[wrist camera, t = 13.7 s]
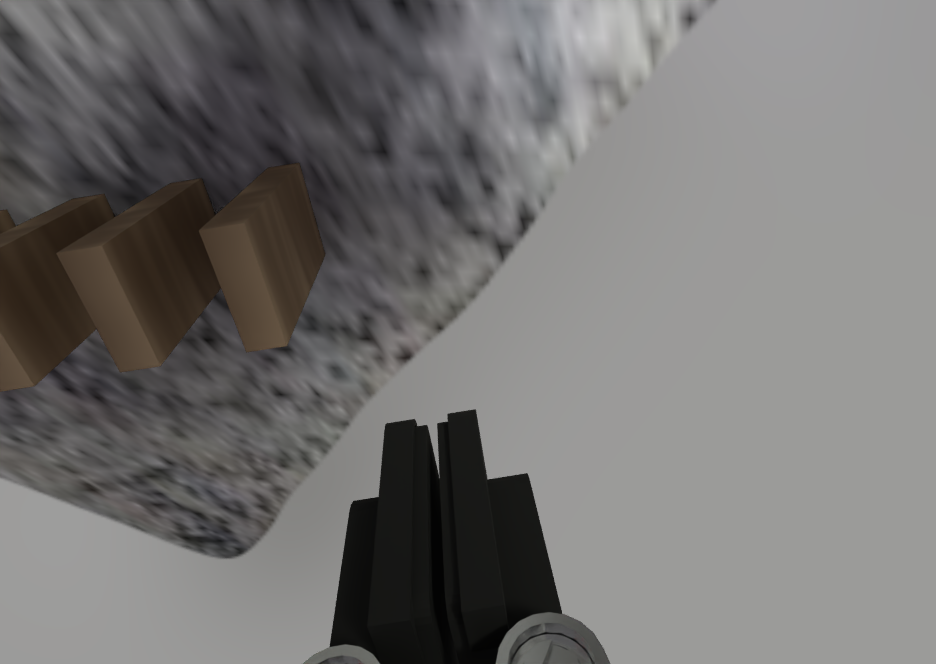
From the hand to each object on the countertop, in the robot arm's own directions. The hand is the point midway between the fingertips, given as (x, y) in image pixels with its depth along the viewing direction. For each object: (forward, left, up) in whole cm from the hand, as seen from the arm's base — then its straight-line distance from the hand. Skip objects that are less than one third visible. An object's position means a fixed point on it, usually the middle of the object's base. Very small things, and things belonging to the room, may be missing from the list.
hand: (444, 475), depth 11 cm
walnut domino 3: (+7, +1, -21) cm, 22 cm away
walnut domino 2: (+12, +1, -21) cm, 24 cm away
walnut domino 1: (+17, +2, -21) cm, 27 cm away
